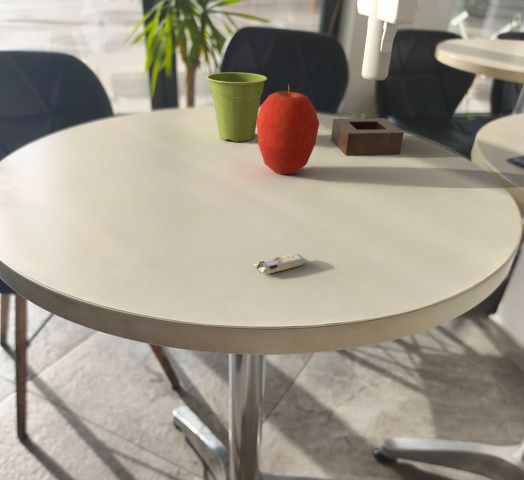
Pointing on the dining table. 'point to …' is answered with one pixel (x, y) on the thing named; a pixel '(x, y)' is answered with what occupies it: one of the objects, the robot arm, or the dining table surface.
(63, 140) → the dining table surface
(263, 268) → the granola bar
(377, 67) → the beverage can
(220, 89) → the plant pot
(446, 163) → the dining table surface
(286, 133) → the apple
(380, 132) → the holder
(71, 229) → the dining table surface
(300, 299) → the dining table surface
